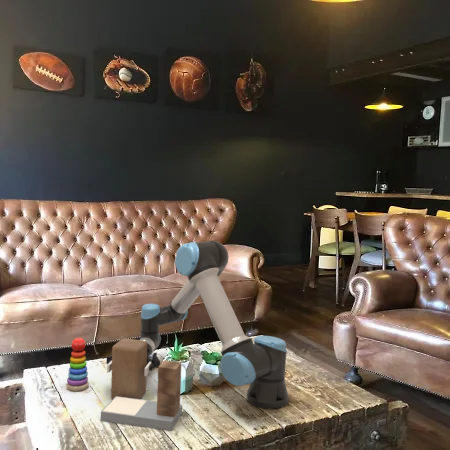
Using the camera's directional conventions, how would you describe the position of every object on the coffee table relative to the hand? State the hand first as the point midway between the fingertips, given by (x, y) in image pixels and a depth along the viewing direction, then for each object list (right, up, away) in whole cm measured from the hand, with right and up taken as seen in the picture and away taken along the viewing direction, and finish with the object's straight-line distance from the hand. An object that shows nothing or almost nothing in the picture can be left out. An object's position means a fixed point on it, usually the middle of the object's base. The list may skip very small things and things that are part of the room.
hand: (126, 370), depth 177 cm
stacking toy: (-20, -9, +10) cm, 25 cm away
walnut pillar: (+16, -10, -12) cm, 23 cm away
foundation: (+7, -12, -10) cm, 18 cm away
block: (0, -11, +4) cm, 12 cm away
